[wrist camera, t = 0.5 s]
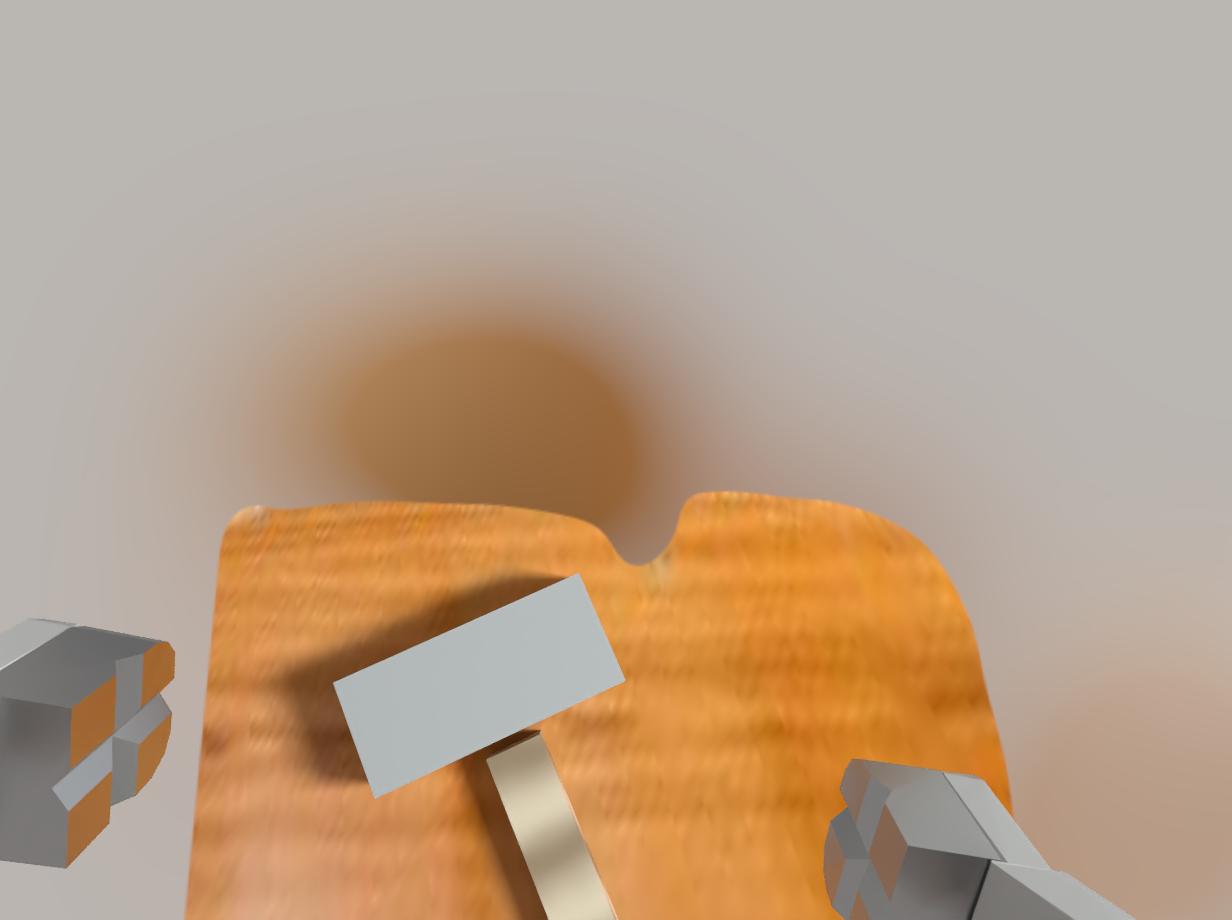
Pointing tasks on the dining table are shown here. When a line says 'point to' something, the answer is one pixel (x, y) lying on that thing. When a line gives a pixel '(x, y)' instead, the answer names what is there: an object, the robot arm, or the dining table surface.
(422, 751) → the end cap
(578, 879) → the slat
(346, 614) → the dining table surface
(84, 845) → the robot arm
